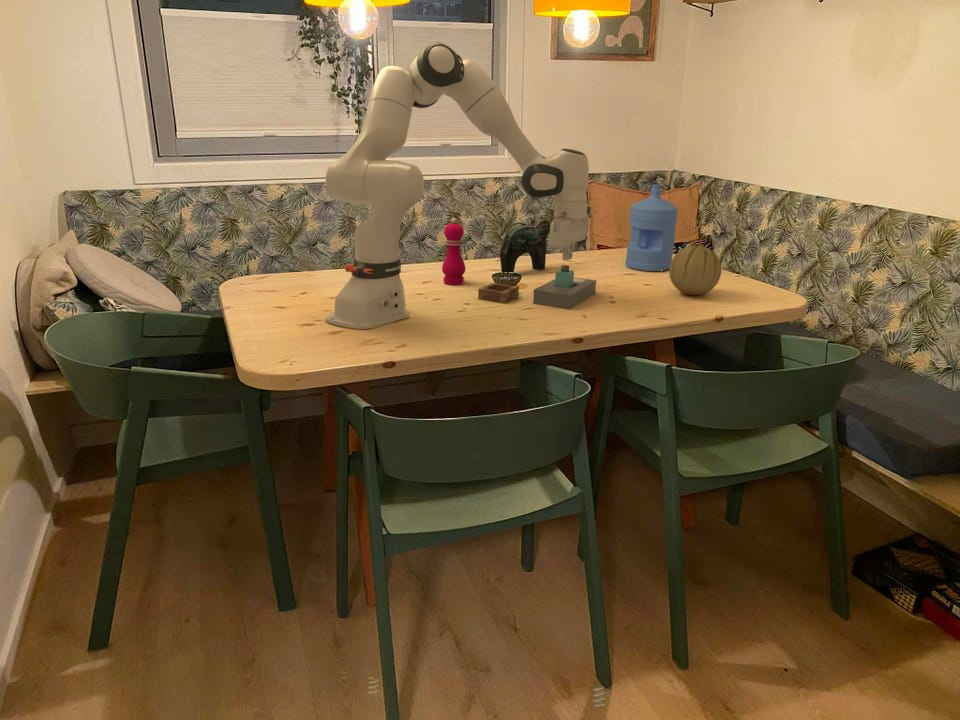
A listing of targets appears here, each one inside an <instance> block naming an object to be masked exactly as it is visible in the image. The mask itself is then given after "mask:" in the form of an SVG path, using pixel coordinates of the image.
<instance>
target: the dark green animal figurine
mask: <svg viewBox="0 0 960 720" xmlns="http://www.w3.org/2000/svg"><path fill="white" fill-rule="evenodd" d="M529 213H532V214H533V218H531V217H530V218H528V219H529V220H530V222H529V224H526V223H523V222H515V223H513V224H511V225H509V226H508V227H507V230H506V233H505V235H504V237H503V240H502V242H501V245H500V248H499V249H500V250H499V261H500V268H501V269H500V271H501V273H502V272H514V273H515V268H516V263H517V260H518V259H519V257H520V256H522V255H524V254H529V257H530V259H531V266H532V270H536V271H541V270H546V260H547V259H546V257H547V238H548V237H549V235H550V227H551V223H550V221H548V220H547V219H545V217H544V215H542V214H541V215H540V217H539V218H536V214H535V212H534V210H528V211H527V212H526V213H525V216H528V215H529ZM515 225H518V226H515ZM513 226H514V227H513Z"/></svg>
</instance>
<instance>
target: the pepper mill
mask: <svg viewBox="0 0 960 720" xmlns="http://www.w3.org/2000/svg"><path fill="white" fill-rule="evenodd" d="M464 234H465V231H464V228H463V225H462V224H459V223H458V222H457V218H455V217H452V218H451V219H450V223H448V224H446V225H445V227H444V230H443V235H444V237H445V238H446V239H445V244H446V246H447V247H446V248H447V249H446V256H445V258H444V260H443V262H442V265H441V267H442V268H441V271H442V273H443V274H444V276H443V284H445V285H448V286H462V285H463V284H464V281H465V280H464V279H465V278H464V276H463V275H464V274H465V272H466V265H465V262H464V260H463V257H462V254H461V246H462V245H463V242H462V241H463V239H462V237H463V236H464Z"/></svg>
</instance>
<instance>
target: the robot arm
mask: <svg viewBox="0 0 960 720" xmlns="http://www.w3.org/2000/svg"><path fill="white" fill-rule="evenodd" d="M444 95H445V96H447V97H448V98H450V99H452V100H453V101H455V103H457V105H458V107H460V109H461V112H463V114H464V115H465V116H466V117H467V118H468V120H469V121H470V122H471V124H473V126H474V127H475V128H476V129H478V131H480V132H481V133H482V134H485V135H486V136H488V137H492V138H493V139H494V140H497V141H498V142H499V143H500V144H502V146H503V147H504V148H505V149H506V150H507V152H508V153H509V154H510V155H511V157H512V158H513V159H514V161H515V162H516V163H517V165H518V166H519V168H520V170H521V172H522V175H521V185H522V188H523V190H524V191H525V193H526V194H528V196H531V197H532V198H536V199H541V198H545V197H552V196H554V205H553V207H554V208H553V209H554V210H553V216H554V217H555V218H554V219H553V220H552V221H551V223H550V233H549V235H548V246H549V248H550V249H554V250H561V253H562V257H561V258H562V259H561V260H562V261H566V262H567V261H570V260H571V259H573V253H574V250H575V246H576V243H578V242H580V241H583V240H585V239H586V238H587V235H588V231H589V223H590V215H591V213H592V206H590V205H589V204H588V203H587V202H588V196H587V188H588V185H589V178H590V177H589V176H590V175H589V173H590V171H589V168H590V167H589V166H590V165H589V159H588V157H587V155H586V154H585V153H584V152H582V151H581V150H576V149H571V148H561V149H560V150H558V151H557V152H555V153H554V154H552V155H550V156H549V157H545V156H544V155H541V153H539V152H538V150H537V149H536V148H535V147H534V146H533V145H532V143H531V142H530V140H529V139H528V138H527V136H526V134H524V133H523V131H522V130H521V128H520V127H519V124H518V123H517V121H516V118H515V116H514V113H513V112H512V109H511V107H510V105H509V103H508V102H507V99H506V98H505V96H504V95H503V93H502V91H501V90H500V88H499V87H498V86H497V84H496V83H495V82H494V80H493V79H492V78H491V77H490V76H489V75H488V74H487V72H486V71H485V70H484V69H483V68H482V67H481V66H480V65H479V64H477V63H476V62H475V61H474V60H472V59H462V56H460V55H459V54H457V53H456V52H455V50H453V48H451V47H450V46H448V45H446V44H445V43H442V42H439V41H438V42H432V43H431V42H430V43H429V44H427V45H425V46H424V47H423V48H422V49H421V50H420V51H419V52H418V54H417V56H416V57H415V58H414V59H413V61H412V62H411V63H410V65H409V66H408V68H404V67H400V66H397V65H387V66H384V67H383V68H382V69H380V70H379V72H378V74H377V76H376V78H375V80H374V83H373V86H372V89H371V91H370V94H369V98H368V103H367V108H366V113H365V117H364V120H363V123H362V127H361V129H360V133H359V135H358V137H357V139H356V140H355V142H354V143H353V145H352V146H351V147H350V148H349V149H348V150H347V151H346V152H345V153H344V154H343V155H342V156H341V157H340V158H338V159H337V160H335V161H333V162H332V163H330V165H329V167H328V168H327V170H326V174H325V186H326V189H327V192H328V194H330V196H331V197H332V198H333V199H336V200H338V201H340V202H345V203H347V204H348V203H349V204H357V205H371V206H372V207H373V208H372V214H371V217H369V218H367V219H366V220H363V221H362V222H361V223H359V224H358V225H357V226H356V228H355V231H354V249H355V253H354V254H355V259H354V260H353V264H350V263H346V264H345V265H344V271H345V272H346V273H351V277H350V278H349V279H348V280H347V282H345V284H344V285H343V287H342V289H340V291H339V292H338V294H336V296H335V298H334V299H335V300H334V301H335V302H334V312H332V313H330V314H328V315H326V316H325V322H327V323H329V324H331V325H334V326H338V327H343V328H348V329H357V330H358V329H361V330H366V329H367V330H369V329H371V328H372V329H373V328H375V327H378V326H379V327H380V326H382V325H386V324H389V323H393V322H395V321H400V320H403V319H406V318H409V317H410V312H409V311H408V310H407V304H406V295H405V289H404V284H403V281H402V280H401V277H400V274H401V273H402V269H401V267H402V264H401V259H400V257H399V255H400V253H399V245H400V243H399V242H400V241H399V240H400V229H401V225H402V222H403V220H404V217H405V216H406V214H407V213H408V211H409V210H410V209H411V208H412V207H413V206H415V204H417V203H418V202H419V201H420V200H421V198H422V196H423V193H424V192H425V178H424V175H423V173H422V171H421V170H420V168H419V167H418V166H417V165H415V164H412V163H409V162H405V161H401V160H392V159H391V160H387V159H388V157H390V156H391V155H392V154H395V153H396V152H398V151H400V150H401V149H402V148H403V147H404V145H405V144H406V141H407V137H408V132H409V127H410V122H411V117H412V113H413V108H417V109H427V108H429V107H431V106H433V105H435V104H436V103H437V102H438V101H439V99H440V98H441V97H443V96H444Z"/></svg>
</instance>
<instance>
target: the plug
mask: <svg viewBox="0 0 960 720" xmlns="http://www.w3.org/2000/svg"><path fill="white" fill-rule="evenodd" d="M574 275H575V271H574V270H573V269H570V265H567V264H561V265H560V269H558V270H556V271H555V276H554V279H555V286H559V287H566V288H573V280H574V277H575V276H574Z"/></svg>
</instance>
